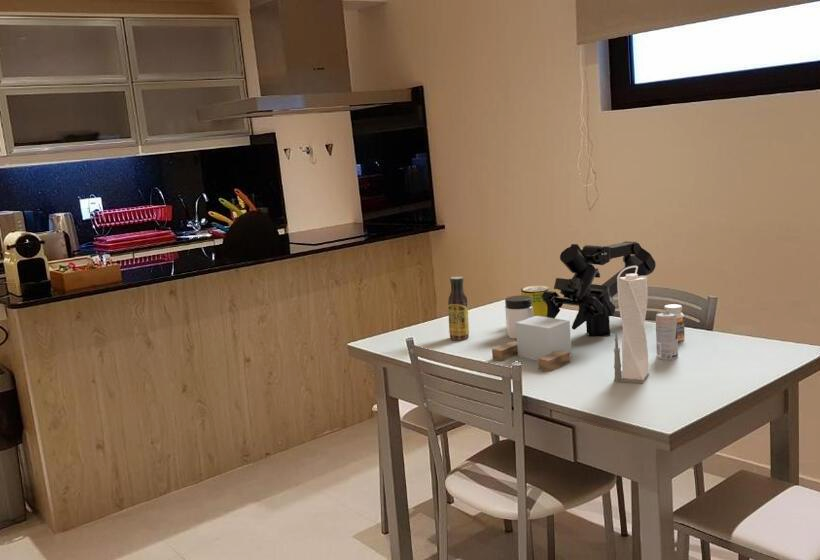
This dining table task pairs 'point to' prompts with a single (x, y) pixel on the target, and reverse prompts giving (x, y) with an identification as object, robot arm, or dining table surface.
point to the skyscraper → (632, 329)
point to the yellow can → (536, 299)
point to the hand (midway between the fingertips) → (560, 326)
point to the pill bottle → (680, 319)
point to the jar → (517, 312)
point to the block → (542, 336)
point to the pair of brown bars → (544, 362)
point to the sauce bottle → (458, 310)
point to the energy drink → (666, 335)
